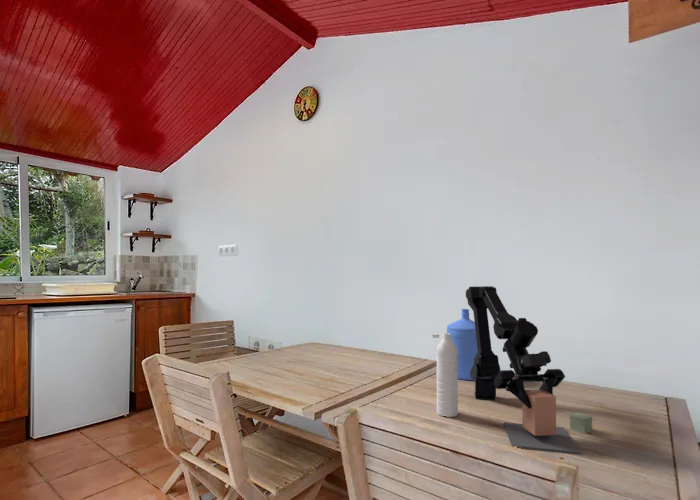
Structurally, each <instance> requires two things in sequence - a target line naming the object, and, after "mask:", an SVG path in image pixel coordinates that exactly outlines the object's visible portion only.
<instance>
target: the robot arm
mask: <svg viewBox="0 0 700 500" xmlns="http://www.w3.org/2000/svg"><path fill="white" fill-rule="evenodd" d="M465 298H466V301H467V304H468V306H469V307H470V309H471V310H472V312H473V321H474V322H475V331H476V340H477V349H478V352H477V354H476V356H475V358H474V365H473V367H472V369H471V371H470V376H471V378H472V379H473V380H472V381H474V396H475V397H474V398H475V400H476V399H477V400H478V399H479V400H491V401H495V400H496V397H497V390H503V389H504V390H506V392H509V393H511V394H512V395H514V396H515V397H516V398H517V399H518V400H519V401H520V402H521V403H522V402H523V403H524V404H525V405H526V406H527V407H528V408H529V409H531V408H532V406H531V403H530V400H529V398H528V395H527V393H526V391H525V390H526V389H525V386H524V383H528V382H529V383H535V382H537V383H539V384H540V387H539V388H538V390H544V391H546V392H548V393H550V394H552V395H554V392H553V391H554V388H556V387H558V386H559V385H560V384H561V383H562V382H563V380H564V379H565V378H566V375H565V373H564V372H563V370H562V369H560V368H548V369H546V371H545V372H544V373H539V372H541V371H542V367H547V365H548V364H550V363H551V362H552V360H551V356H550V354H549V352H548V351H540V352H538V353H529V352H528V350H527V348H529V347H530V346H531V344H532V343H533V341H534V339H535V338H536V336H537V335H538V333H539V331H538V327H537V326H536V325H535V324H534V323H533V322H531V321H528V320H527V318H526V317H519V318H518V319H517V318H516V317H515V316H513V315H512V314H509V312H508V311H507V309H506V308H505V307H506V306H504V303H503V302H502V300H501V299H500V297H499V294H498V292H497V288H496V287H495V286H488V285H487V286H485V285H484V286H483V285H482V286H469V287H468V289H466V291H465ZM488 311H489V314H490V315H491V317H492V319H493V322H494V323H493V327H492V328H493V333H494V334H495V336H496V338H497V339H498V340H505V341H504V342H503V347H502V352H503V353H506V355H507V356H508V359H509V362H510V363H509V365H508V366H509V368H510V369H508V370H507V369H505V370H503V369H501V366H500V365H501V364H500V363H499V362H500V361H499V356H498V355H497V354H495V353H494V351H493V350H492V342H491V341H492V339H491V334H490V325H489V316H488ZM512 369H513V370H512Z"/></svg>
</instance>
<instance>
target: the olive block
mask: <svg viewBox="0 0 700 500" xmlns="http://www.w3.org/2000/svg"><path fill="white" fill-rule="evenodd" d="M569 422H570V423H569V425H570V427H569V429H570V430H573V431H576V432H578V433H581V434H585V435H586V434H587V433H590V432H592V431H593V416H591V415H588V414H585V413H582V412H575V413H571V414H570V415H569Z"/></svg>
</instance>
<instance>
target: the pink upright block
mask: <svg viewBox="0 0 700 500" xmlns="http://www.w3.org/2000/svg"><path fill="white" fill-rule="evenodd" d="M525 391H526V393H527V395H528V398H529V400H530V403H531V406H532V408H531V409H529V408H528V407H527V406H526V405H525V404H524V403H523V402H522V401H521V403H522V404H521V405H522V408H521V409H522V411H521V413H522V417H521V418H522V423H521V424H522V425H523V427H524V428H525V429H526V430H528V431H529V432H530V433H532V434H533V435H535V436H539V435H556V427H557V405H556V404H557V401H556V400H557V396H556V395H554V394H553V395H552V394H550V393H548V392H546V391H544V390H540V389H525Z"/></svg>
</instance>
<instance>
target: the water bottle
mask: <svg viewBox="0 0 700 500" xmlns="http://www.w3.org/2000/svg"><path fill="white" fill-rule="evenodd" d="M430 338H433V339H437V338H440V334H439V333H431V334H430ZM435 350H436V351H435V352H436V414H437V415H438V414H439V415H438V416H441V417H443V416H446V418H455V417H457V416H458V415H459V406H458V404H459V403H458V402H459V401H458V397H459V395H458V394H459V393H458V389H459V388H458V383H459V382H458V381H459V379H458V374H457V372H458V371H457V370H458V369H457V367H458V366H457V354H458V351H457V347H456V346H455V344H454V342H453V341H452V339H451V334H448V333H447V332H446V333H443V334H442V339H441V341H440V342H439V343H438V344H437V347H436V349H435Z"/></svg>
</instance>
